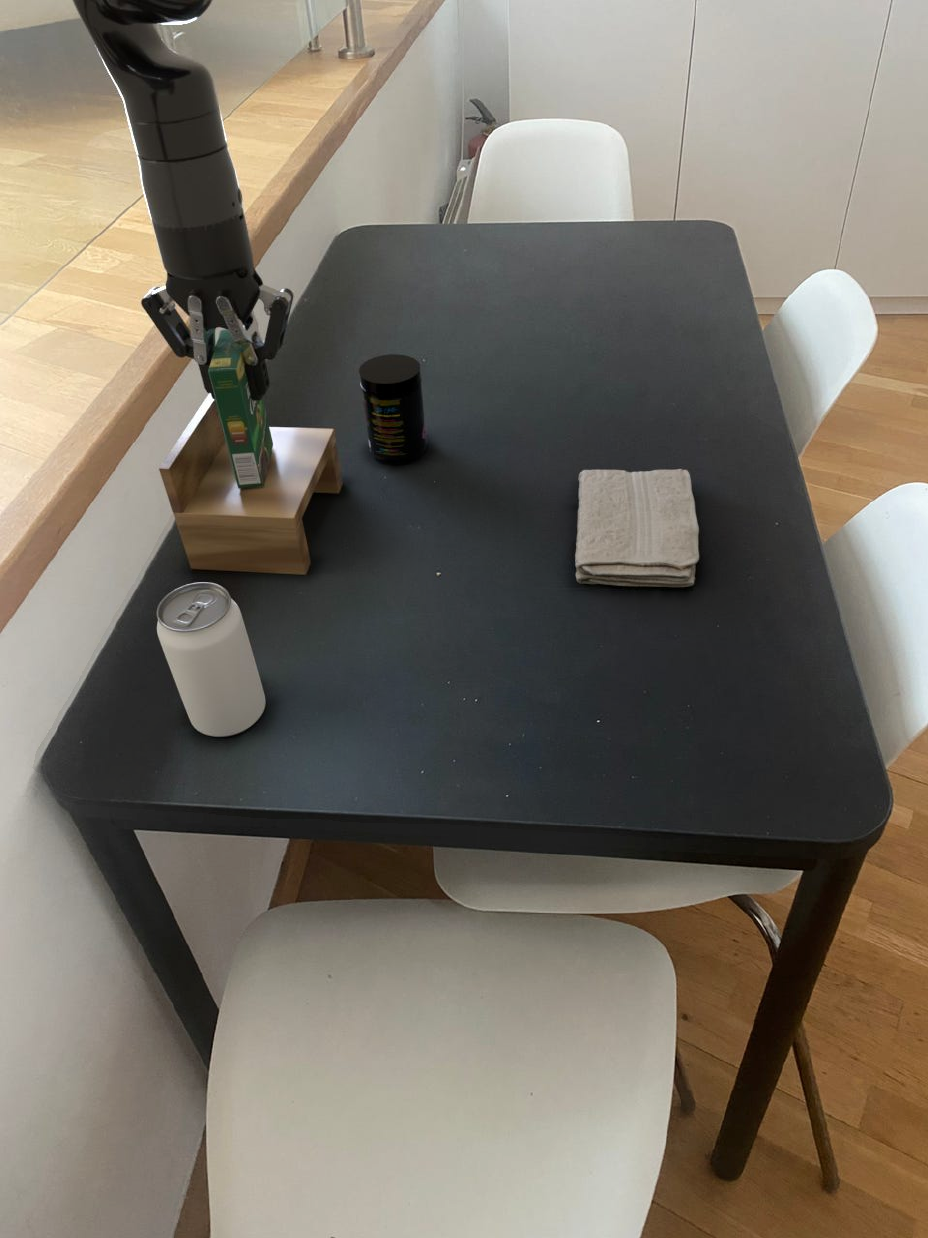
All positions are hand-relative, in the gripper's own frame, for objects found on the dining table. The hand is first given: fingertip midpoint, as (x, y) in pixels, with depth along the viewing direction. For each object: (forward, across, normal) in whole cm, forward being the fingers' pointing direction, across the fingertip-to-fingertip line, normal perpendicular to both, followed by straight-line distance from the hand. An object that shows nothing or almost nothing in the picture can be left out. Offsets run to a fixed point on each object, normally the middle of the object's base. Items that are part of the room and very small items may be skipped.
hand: (239, 395), depth 87 cm
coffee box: (+8, 0, 0) cm, 8 cm away
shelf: (+15, 0, 0) cm, 15 cm away
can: (+16, +4, -26) cm, 31 cm away
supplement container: (+15, +11, +15) cm, 24 cm away
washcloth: (+15, +38, +1) cm, 41 cm away
